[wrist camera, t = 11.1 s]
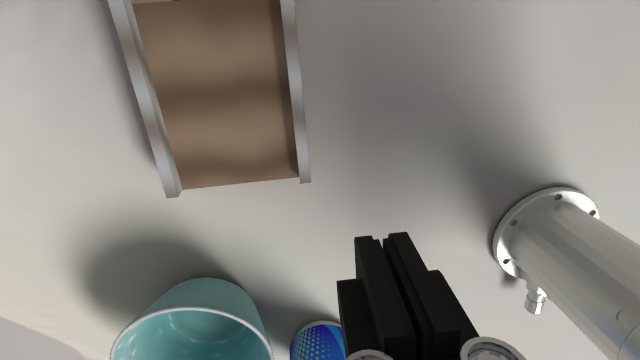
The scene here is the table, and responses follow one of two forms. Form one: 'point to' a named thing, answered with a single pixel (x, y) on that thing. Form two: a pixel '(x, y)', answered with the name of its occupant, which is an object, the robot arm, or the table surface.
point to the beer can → (318, 342)
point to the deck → (217, 89)
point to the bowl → (196, 326)
